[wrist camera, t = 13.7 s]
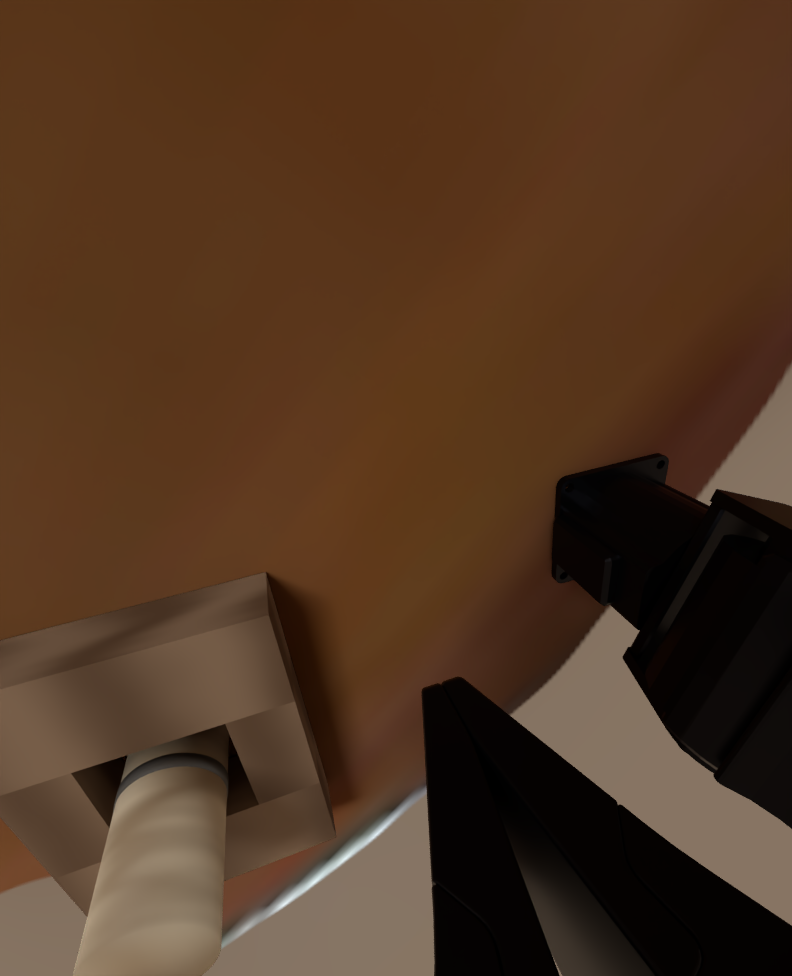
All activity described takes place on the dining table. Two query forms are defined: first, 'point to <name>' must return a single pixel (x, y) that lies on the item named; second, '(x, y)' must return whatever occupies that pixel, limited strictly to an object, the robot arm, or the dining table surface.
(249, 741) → the walnut board
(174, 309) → the dining table surface
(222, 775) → the birch peg
